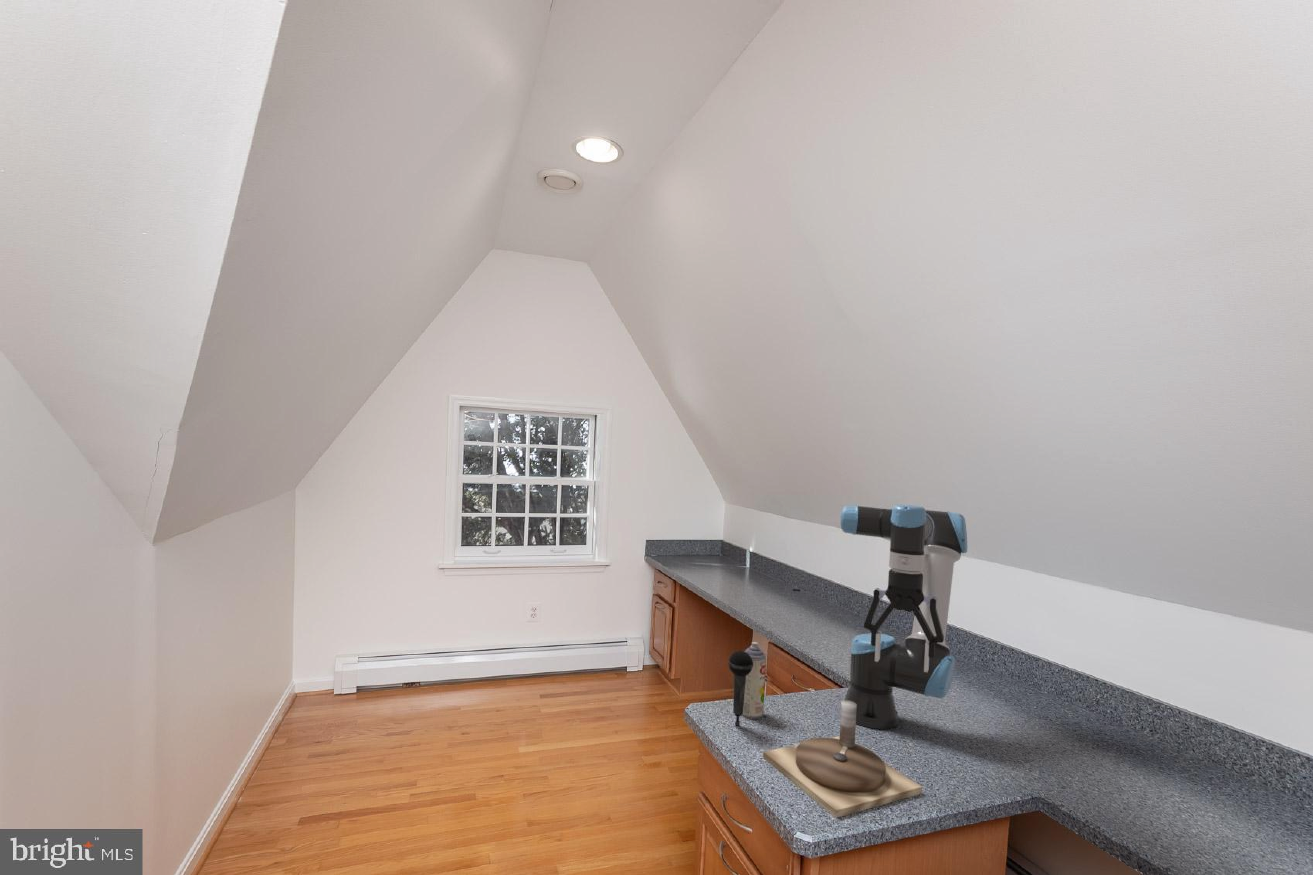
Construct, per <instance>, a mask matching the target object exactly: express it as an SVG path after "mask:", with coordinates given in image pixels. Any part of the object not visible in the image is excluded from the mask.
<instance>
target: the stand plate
mask: <svg viewBox="0 0 1313 875" xmlns="http://www.w3.org/2000/svg"><path fill="white" fill-rule="evenodd" d="M831 738H835V739H840V735H837V736H833V737H831ZM799 744H800V743H799ZM799 744H795V745H788V746H784V747H779V748H775V749H771V750H770V749H769V750H765V751H763V754H762V758H763V759H764V760H765V761H766V762H767V763H769V764H770V765H771V766H772V767H774V768H775V769H776V770H777V771H778V772H780V773H781V774H782V775H783V776H784V777H786V778H787V779H788V780H789V781H790V782H792V783H793V784H794V785H795V786H796V787H798V788H799V789H801V791H802V792H804V793H805V794H806V795H807V796H809V797H810V798H811V799H813V800H814V802H816V803H817V804H818V805H820V806H821V807H822V808H823V809H824V810H826V811H827V812H828V813H829V814H830V815H831V816H833V817H834V818H835V819H837V818H841V817H844V816H847V815H851V814H854V813H858V812H862V811H866V810H869V809H871V808H876V807H879V806H882V805H886V804H890V803H893V802H897V801H901V800H904V799H907V798H911V797H915V796H918V795H921V794H923V786H922V785H920V784H918V783H917V782H916V781H914V780H912V779H910V777H907V775H905V774H903V773H901V772H899V771H898V770H897V769H895V768H893V767H892V766H890V765H889V764H887V763H886V762H884V764H885V767H886V776H885V782H884V784H883V785H882V786H881V787H879V788H877V789H875V790H872V791H866V792H850V791H843V790H838V789H834V788H830V787H828V786H825V785H822V784H820V783H818V782H816V781H814V780H812V779H811V778H809V777H808V776H806V775H805V774H804V773H803V772H802V771H801V770H800V769H799V768H798V766H797V764H796V748H797V746H798V745H799Z"/></svg>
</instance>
